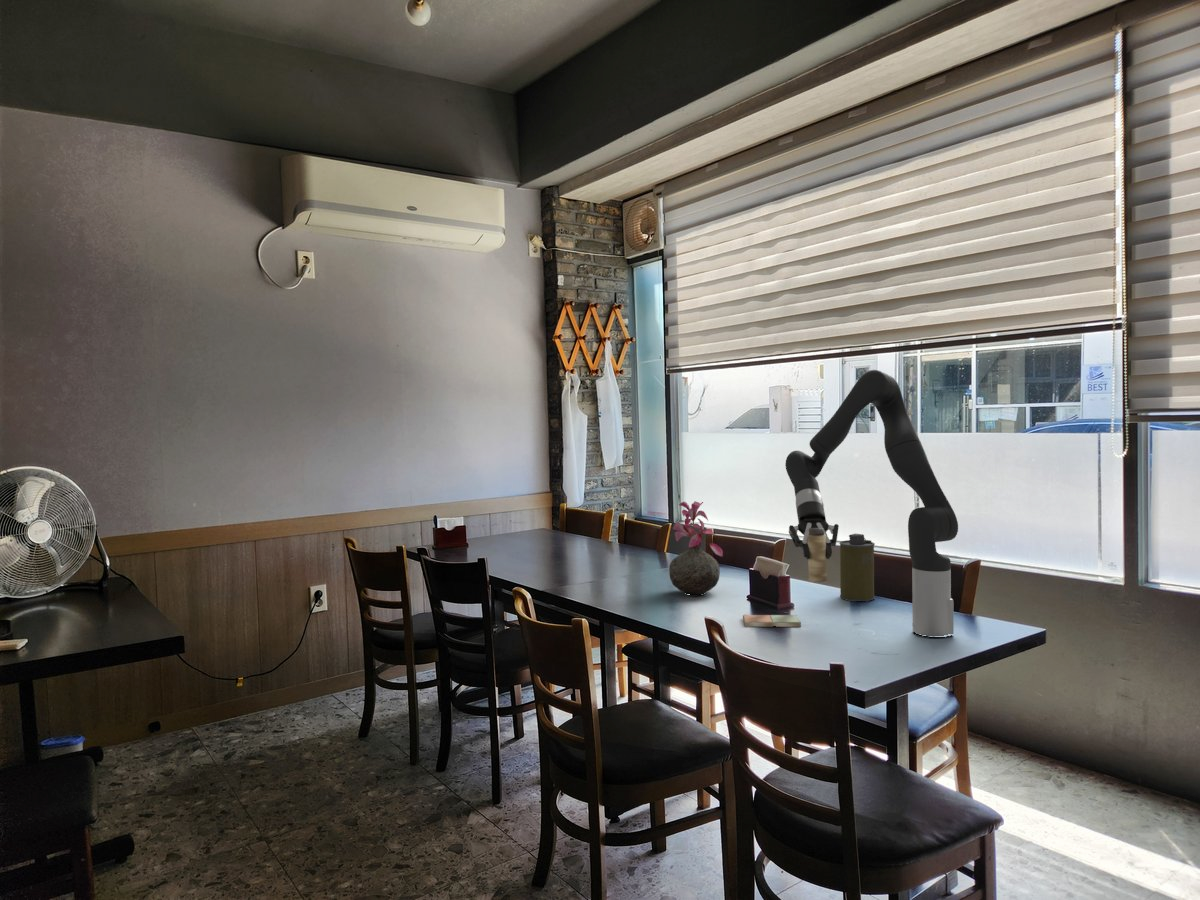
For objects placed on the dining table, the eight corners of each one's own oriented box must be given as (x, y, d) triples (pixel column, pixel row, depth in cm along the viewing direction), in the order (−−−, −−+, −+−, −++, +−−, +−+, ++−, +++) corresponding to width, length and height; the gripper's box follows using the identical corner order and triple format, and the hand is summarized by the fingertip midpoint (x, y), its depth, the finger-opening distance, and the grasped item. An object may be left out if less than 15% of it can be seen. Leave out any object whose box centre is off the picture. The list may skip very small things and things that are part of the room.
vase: (671, 587, 266) (670, 499, 265) (724, 588, 263) (722, 499, 262) (667, 599, 250) (665, 505, 248) (723, 600, 247) (721, 505, 245)
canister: (860, 603, 239) (859, 538, 238) (832, 597, 248) (832, 534, 247) (882, 598, 245) (882, 534, 244) (855, 592, 254) (855, 530, 253)
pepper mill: (825, 578, 218) (823, 527, 218) (828, 581, 213) (826, 529, 213) (807, 578, 219) (806, 527, 218) (810, 582, 214) (808, 530, 213)
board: (796, 619, 223) (796, 614, 223) (800, 626, 215) (800, 622, 215) (742, 618, 224) (742, 614, 224) (745, 626, 216) (745, 622, 216)
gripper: (834, 515, 227) (843, 564, 216) (783, 517, 229) (790, 565, 217) (837, 499, 222) (847, 548, 210) (785, 500, 224) (792, 549, 212)
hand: (818, 557), depth 214 cm, fingers closed on pepper mill, 4 cm apart
